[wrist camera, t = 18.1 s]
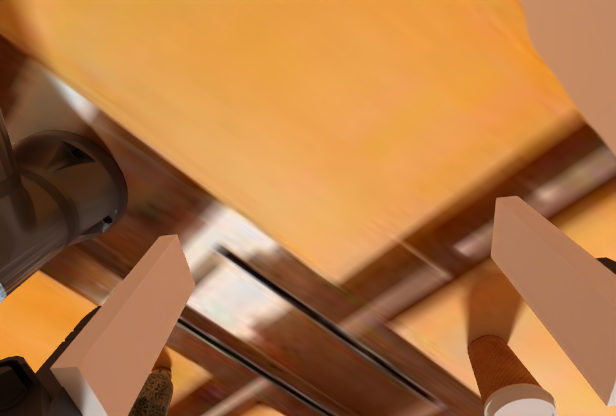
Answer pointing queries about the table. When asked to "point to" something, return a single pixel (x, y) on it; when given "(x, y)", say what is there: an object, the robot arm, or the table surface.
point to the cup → (154, 394)
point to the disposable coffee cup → (507, 381)
